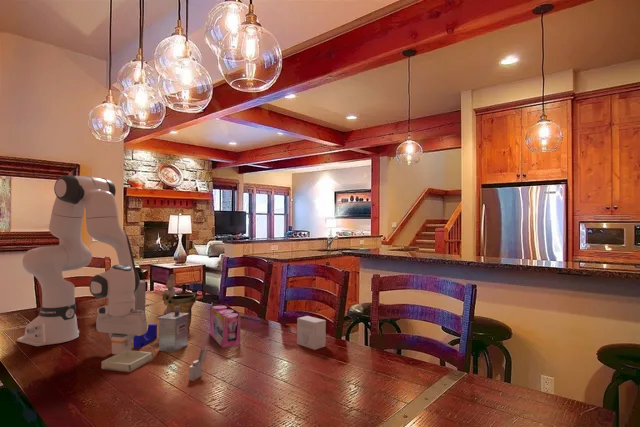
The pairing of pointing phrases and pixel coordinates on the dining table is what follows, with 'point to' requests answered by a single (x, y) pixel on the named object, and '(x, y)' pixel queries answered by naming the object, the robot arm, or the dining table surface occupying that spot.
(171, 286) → the figurine
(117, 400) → the dining table surface
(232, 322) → the gum box
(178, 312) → the box
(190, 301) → the pot
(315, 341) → the skincare box
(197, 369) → the lighter
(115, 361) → the parts tray
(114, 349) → the block
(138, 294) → the network device
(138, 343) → the blue notched block
